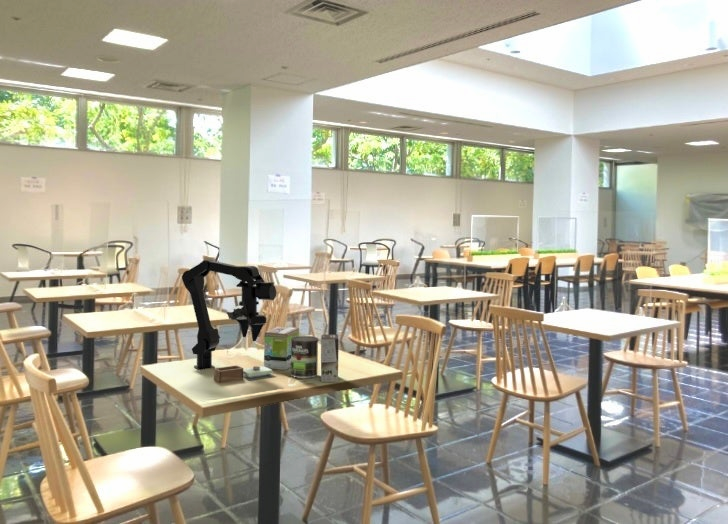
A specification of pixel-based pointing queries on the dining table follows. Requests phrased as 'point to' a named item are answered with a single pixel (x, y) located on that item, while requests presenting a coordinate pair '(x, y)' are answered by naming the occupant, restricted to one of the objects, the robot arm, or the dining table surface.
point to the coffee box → (329, 358)
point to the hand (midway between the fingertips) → (249, 339)
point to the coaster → (258, 377)
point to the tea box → (279, 347)
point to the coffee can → (304, 356)
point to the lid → (257, 371)
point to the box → (228, 374)
